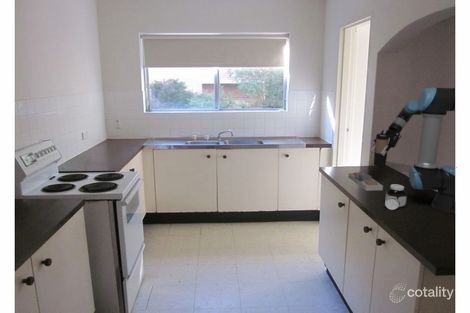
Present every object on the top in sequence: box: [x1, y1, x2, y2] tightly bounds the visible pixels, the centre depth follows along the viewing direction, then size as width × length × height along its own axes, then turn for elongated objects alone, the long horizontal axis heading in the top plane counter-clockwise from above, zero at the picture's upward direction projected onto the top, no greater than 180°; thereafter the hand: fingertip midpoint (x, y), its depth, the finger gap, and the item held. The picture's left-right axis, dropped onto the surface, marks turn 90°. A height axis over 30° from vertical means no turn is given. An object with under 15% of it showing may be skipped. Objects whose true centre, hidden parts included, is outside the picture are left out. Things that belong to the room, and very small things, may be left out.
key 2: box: [364, 179, 379, 185], centre depth 219 cm, size 6×6×3 cm
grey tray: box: [347, 172, 384, 192], centre depth 228 cm, size 28×11×3 cm, turn 4°
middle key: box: [359, 173, 373, 181], centre depth 228 cm, size 6×6×3 cm
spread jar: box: [384, 183, 408, 211], centre depth 187 cm, size 12×11×12 cm
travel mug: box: [373, 133, 390, 168], centre depth 220 cm, size 8×8×20 cm
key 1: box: [353, 172, 364, 177], centre depth 237 cm, size 6×6×3 cm
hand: (377, 153), depth 219 cm, fingers closed on travel mug, 7 cm apart
